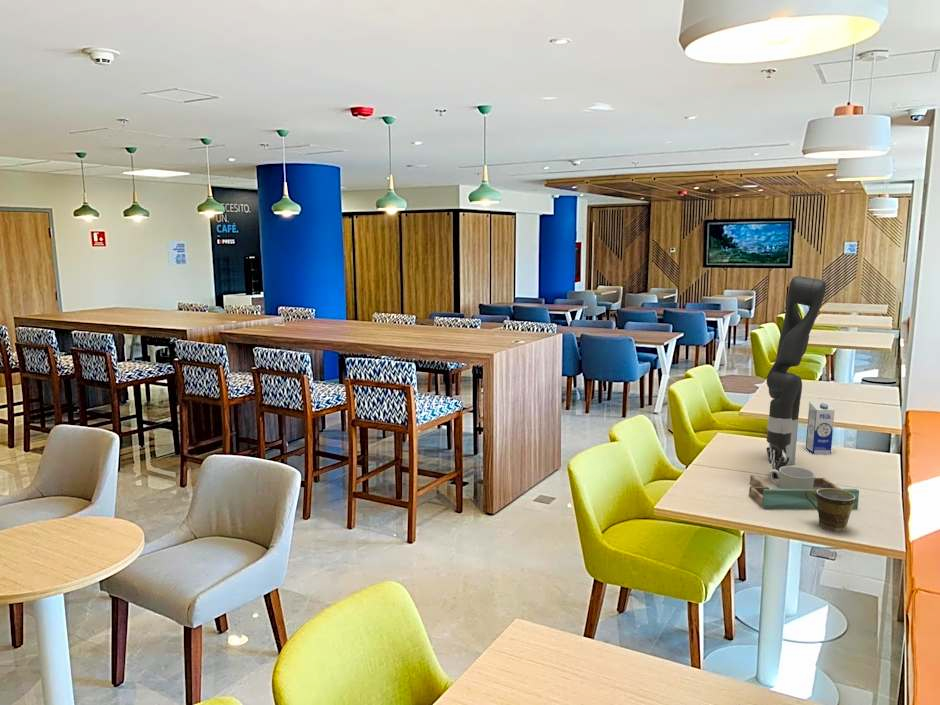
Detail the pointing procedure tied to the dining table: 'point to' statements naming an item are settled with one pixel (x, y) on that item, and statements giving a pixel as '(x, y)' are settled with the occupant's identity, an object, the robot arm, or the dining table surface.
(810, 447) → the milk carton
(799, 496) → the teal wooden tray
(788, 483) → the teacup
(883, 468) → the dining table surface
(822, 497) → the ceramic cup
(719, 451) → the dining table surface
